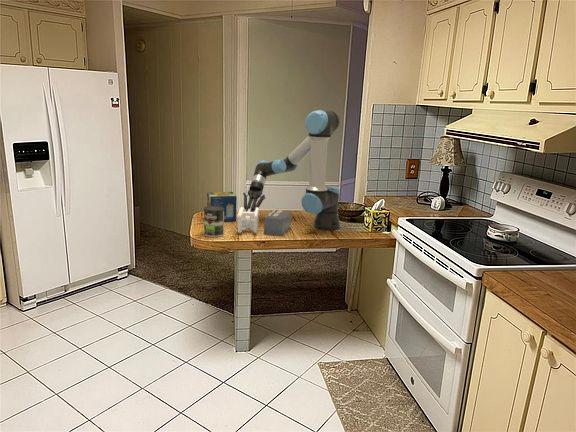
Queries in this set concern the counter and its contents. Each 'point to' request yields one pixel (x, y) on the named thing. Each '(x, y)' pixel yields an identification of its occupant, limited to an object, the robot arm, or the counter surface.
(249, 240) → the counter surface
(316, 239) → the counter surface
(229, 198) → the protein box
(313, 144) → the robot arm
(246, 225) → the cable organizer
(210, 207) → the coffee can
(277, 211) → the grey box
